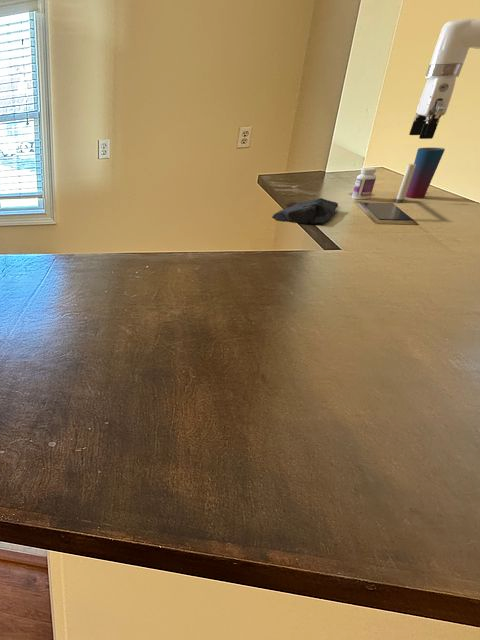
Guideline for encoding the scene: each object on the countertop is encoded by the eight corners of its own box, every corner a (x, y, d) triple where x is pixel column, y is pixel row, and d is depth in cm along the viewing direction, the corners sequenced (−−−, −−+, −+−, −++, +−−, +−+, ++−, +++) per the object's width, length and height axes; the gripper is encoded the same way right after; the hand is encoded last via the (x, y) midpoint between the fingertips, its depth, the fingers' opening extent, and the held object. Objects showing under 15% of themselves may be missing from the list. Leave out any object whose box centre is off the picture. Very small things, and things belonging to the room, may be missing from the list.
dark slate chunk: (345, 211, 152) (350, 195, 150) (323, 226, 139) (328, 210, 137) (293, 206, 162) (296, 191, 159) (268, 220, 149) (271, 204, 147)
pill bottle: (371, 197, 165) (380, 167, 160) (368, 200, 162) (377, 170, 157) (352, 196, 168) (361, 166, 164) (349, 199, 165) (358, 169, 160)
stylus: (401, 202, 156) (414, 163, 150) (403, 204, 154) (417, 164, 148) (394, 202, 157) (407, 163, 151) (396, 204, 155) (409, 164, 149)
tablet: (416, 205, 152) (418, 202, 151) (444, 225, 133) (446, 221, 132) (357, 205, 157) (358, 201, 157) (375, 223, 138) (376, 219, 138)
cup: (431, 196, 161) (448, 148, 153) (422, 199, 158) (440, 150, 150) (406, 193, 166) (422, 147, 158) (398, 197, 163) (414, 149, 155)
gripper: (472, 70, 129) (445, 140, 138) (448, 70, 143) (426, 133, 151) (437, 72, 132) (414, 140, 140) (417, 72, 145) (397, 134, 154)
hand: (420, 136), depth 146 cm, fingers open, 9 cm apart
